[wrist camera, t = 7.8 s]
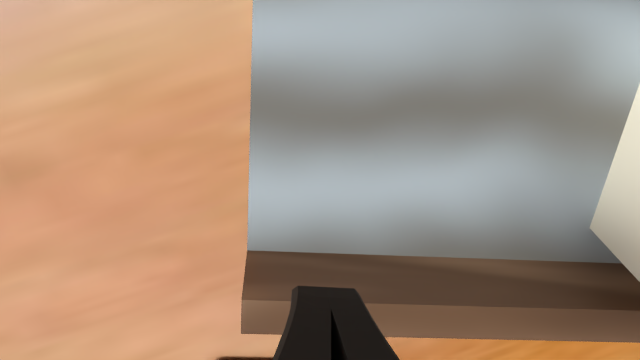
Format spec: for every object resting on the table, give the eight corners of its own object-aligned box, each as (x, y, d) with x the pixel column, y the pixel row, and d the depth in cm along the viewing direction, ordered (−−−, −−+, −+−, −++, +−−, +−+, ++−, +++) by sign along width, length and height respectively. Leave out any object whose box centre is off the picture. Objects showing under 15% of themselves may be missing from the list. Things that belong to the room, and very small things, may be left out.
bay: (769, 283, 25) (849, 347, 21) (248, 266, 23) (241, 333, 19) (951, -49, 19) (1107, -38, 15) (257, -111, 17) (249, -114, 13)
